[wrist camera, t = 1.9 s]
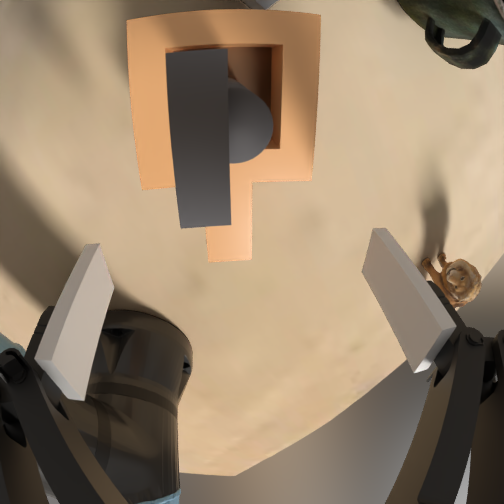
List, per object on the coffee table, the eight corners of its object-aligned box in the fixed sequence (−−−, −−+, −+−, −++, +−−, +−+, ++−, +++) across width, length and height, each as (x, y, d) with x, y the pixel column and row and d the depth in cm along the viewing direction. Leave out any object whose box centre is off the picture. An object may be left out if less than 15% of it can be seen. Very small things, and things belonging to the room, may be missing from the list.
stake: (278, 138, 23) (383, 286, 9) (165, 144, 22) (94, 307, 8) (281, 30, 18) (432, -14, 4) (158, 35, 17) (31, -13, 3)
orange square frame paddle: (292, 230, 21) (303, 256, 19) (162, 238, 20) (156, 265, 18) (303, 21, 13) (320, 14, 11) (140, 26, 12) (126, 20, 10)
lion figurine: (421, 234, 31) (465, 285, 24) (453, 229, 31) (497, 275, 24) (395, 320, 39) (421, 370, 32) (425, 312, 40) (452, 358, 32)
